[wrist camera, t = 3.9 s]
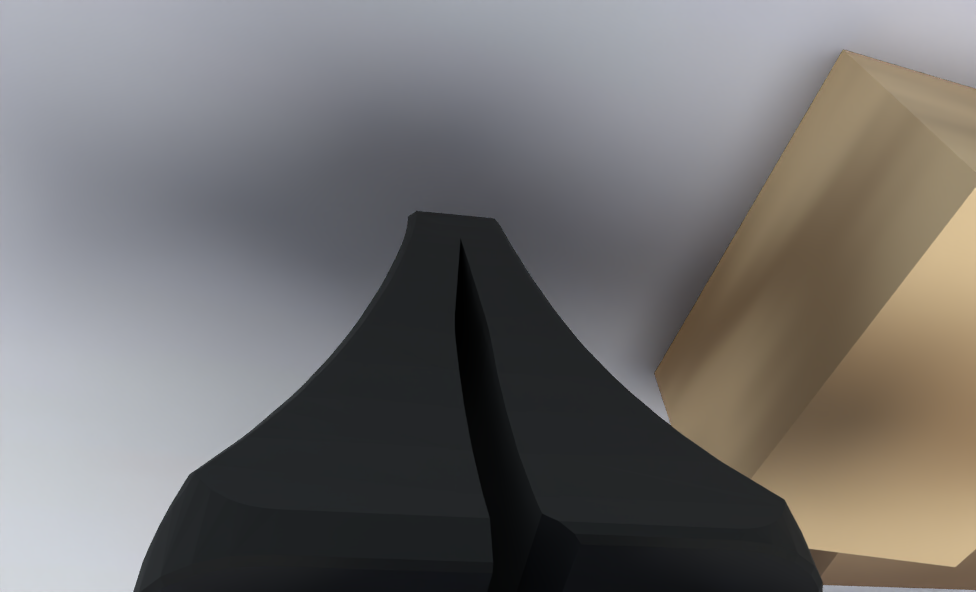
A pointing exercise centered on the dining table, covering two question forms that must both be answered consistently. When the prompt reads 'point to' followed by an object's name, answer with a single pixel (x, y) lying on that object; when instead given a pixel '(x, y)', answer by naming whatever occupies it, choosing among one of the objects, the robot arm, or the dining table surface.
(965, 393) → the oak block
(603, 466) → the robot arm
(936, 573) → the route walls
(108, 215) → the dining table surface
